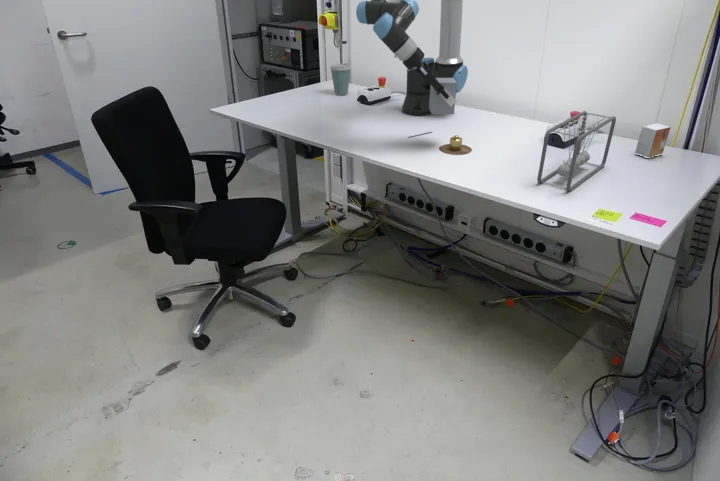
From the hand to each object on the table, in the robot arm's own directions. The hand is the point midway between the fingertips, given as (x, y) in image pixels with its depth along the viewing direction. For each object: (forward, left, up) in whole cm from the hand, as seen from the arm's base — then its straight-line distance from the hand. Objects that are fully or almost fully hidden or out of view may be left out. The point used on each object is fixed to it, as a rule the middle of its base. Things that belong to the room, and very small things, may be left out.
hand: (451, 100), depth 184 cm
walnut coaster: (+1, +5, -17) cm, 18 cm away
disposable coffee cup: (-7, -92, -17) cm, 94 cm away
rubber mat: (+1, -10, -17) cm, 20 cm away
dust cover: (+3, -2, -4) cm, 5 cm away
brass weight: (+1, +5, -17) cm, 17 cm away
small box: (-53, +47, -17) cm, 73 cm away
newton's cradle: (-15, +44, -17) cm, 50 cm away
